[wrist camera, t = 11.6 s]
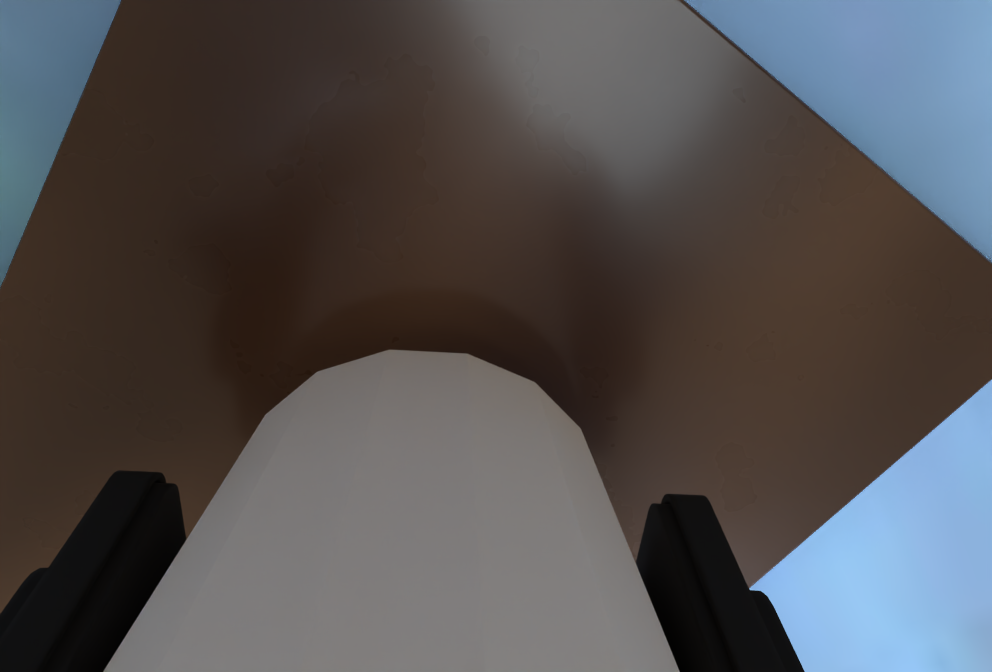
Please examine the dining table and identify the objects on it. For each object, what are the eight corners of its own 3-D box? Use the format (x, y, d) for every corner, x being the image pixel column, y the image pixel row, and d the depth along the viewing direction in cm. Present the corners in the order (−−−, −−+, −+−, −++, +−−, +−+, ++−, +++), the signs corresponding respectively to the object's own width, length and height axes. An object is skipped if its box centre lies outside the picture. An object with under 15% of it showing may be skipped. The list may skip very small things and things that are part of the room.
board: (-140, 662, 16) (-177, 705, 15) (289, -322, 8) (268, -355, 7) (409, 842, 20) (407, 883, 19) (1019, 295, 12) (1061, 321, 11)
